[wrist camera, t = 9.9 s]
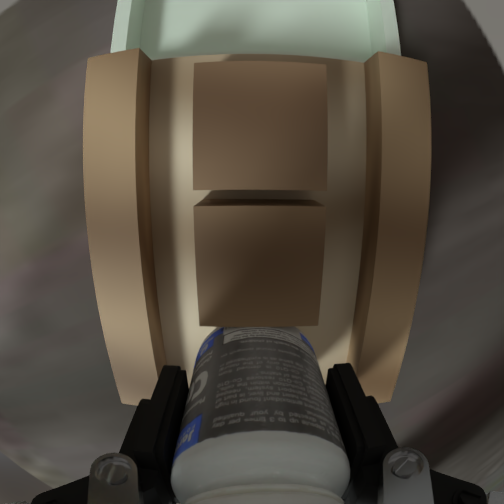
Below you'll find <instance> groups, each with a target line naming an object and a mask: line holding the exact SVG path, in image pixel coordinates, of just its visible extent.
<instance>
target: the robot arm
mask: <svg viewBox="0 0 504 504" xmlns="http://www.w3.org/2000/svg"><path fill="white" fill-rule="evenodd" d="M325 386H326V389H327V392H328V395H329V399H330V402H331V405H332V408H333V411H334V415H335V418H336V421H337V424H338V427H339V431H340V433H341V437H342V440H343V443H344V446H345V449H346V452H347V456H348V460H349V464H350V480H349V484H348V487H347V489H346V490H345V492H344V494H343V495H342V497H341V499H342V500H343V501H344V504H504V493H501V492H493V491H490V492H489V493H488V494H485V492H484V490H483V489H482V488H481V487H479V486H478V485H475V484H473V483H469V482H466V481H463V480H460V479H457V478H454V477H451V476H448V475H445V474H442V473H439V472H436V471H433V470H430V469H429V464H428V461H427V458H426V457H425V456H424V454H423V453H421V452H420V451H418V450H416V449H413V448H407V447H402V448H398V446H397V444H396V442H395V440H394V437H393V435H392V433H391V431H390V429H389V427H388V425H387V422H386V420H385V418H384V416H383V414H382V412H381V410H380V408H379V406H378V404H377V401H376V399H375V398H374V397H373V396H372V395H371V396H366V395H365V393H364V391H363V389H362V387H361V384H360V382H359V380H358V378H357V376H356V374H355V372H354V369H353V367H352V365H351V363H340V364H334V366H333V368H329V369H328V372H327V379H326V385H325ZM188 392H189V386H188V380H187V373H186V370H181V367H180V366H175V365H164V366H163V368H162V370H161V373H160V376H159V378H158V381H157V383H156V386H155V389H154V391H153V394H152V397H151V399H141V400H140V402H139V404H138V406H137V409H136V411H135V414H134V416H133V419H132V421H131V424H130V426H129V429H128V431H127V434H126V436H125V439H124V441H123V444H122V446H121V449H120V452H119V453H107V454H104V455H102V456H100V457H98V458H97V459H96V460H95V461H94V462H93V463H92V465H91V468H90V475H89V476H87V477H84V478H82V479H79V480H76V481H74V482H71V483H69V484H66V485H63V486H60V487H58V488H55V489H52V490H49V491H46V492H43V493H41V494H39V495H37V496H36V497H35V498H34V499H33V500H32V502H31V503H27V502H26V501H20V502H13V503H6V504H176V503H180V502H179V500H178V499H177V498H176V496H175V494H174V492H173V489H172V485H171V469H172V462H173V458H174V453H175V448H176V444H177V439H178V436H179V432H180V426H181V422H182V418H183V413H184V409H185V405H186V400H187V396H188Z"/></svg>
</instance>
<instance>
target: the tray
mask: <svg viewBox="0 0 504 504" xmlns="http://www.w3.org/2000/svg"><path fill="white" fill-rule="evenodd" d="M135 48H140V49H141V50H142V51H143V52H144V53H145V54H146V55H147V56H148V57H149V58H150V59H151V60H158V59H166V58H176V57H186V56H199V55H217V54H281V55H299V56H312V57H323V58H332V59H341V60H348V61H355V62H362V63H364V62H365V61H367V60H368V59H369V58H370V57H371V56H373V55H374V54H375V53H376V52H378V51H380V52H385V53H390V54H395V55H399V56H401V50H400V41H399V34H398V26H397V20H396V13H395V7H394V1H393V0H118V3H117V9H116V15H115V22H114V29H113V36H112V45H111V53H113V52H118V51H124V50H129V49H135Z"/></svg>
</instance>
